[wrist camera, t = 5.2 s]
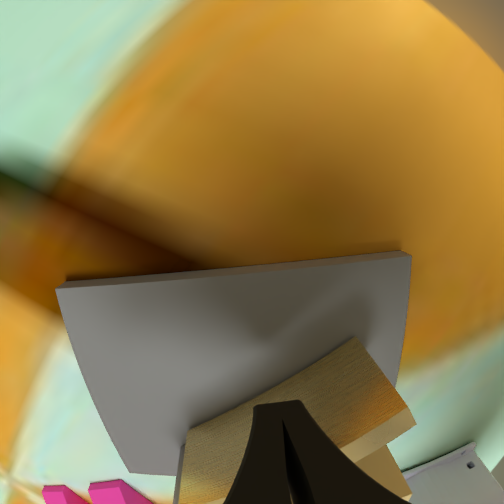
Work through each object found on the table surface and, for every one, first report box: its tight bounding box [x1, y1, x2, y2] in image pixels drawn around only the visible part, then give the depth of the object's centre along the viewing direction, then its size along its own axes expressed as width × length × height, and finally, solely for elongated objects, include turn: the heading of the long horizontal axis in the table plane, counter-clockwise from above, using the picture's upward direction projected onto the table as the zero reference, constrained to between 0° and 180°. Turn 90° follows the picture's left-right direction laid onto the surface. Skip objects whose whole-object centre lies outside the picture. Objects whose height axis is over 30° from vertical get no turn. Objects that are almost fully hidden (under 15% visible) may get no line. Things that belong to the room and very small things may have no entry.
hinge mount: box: [55, 250, 413, 504], centre depth 11 cm, size 15×12×6 cm
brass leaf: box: [178, 336, 416, 504], centre depth 10 cm, size 9×1×5 cm, turn 124°
